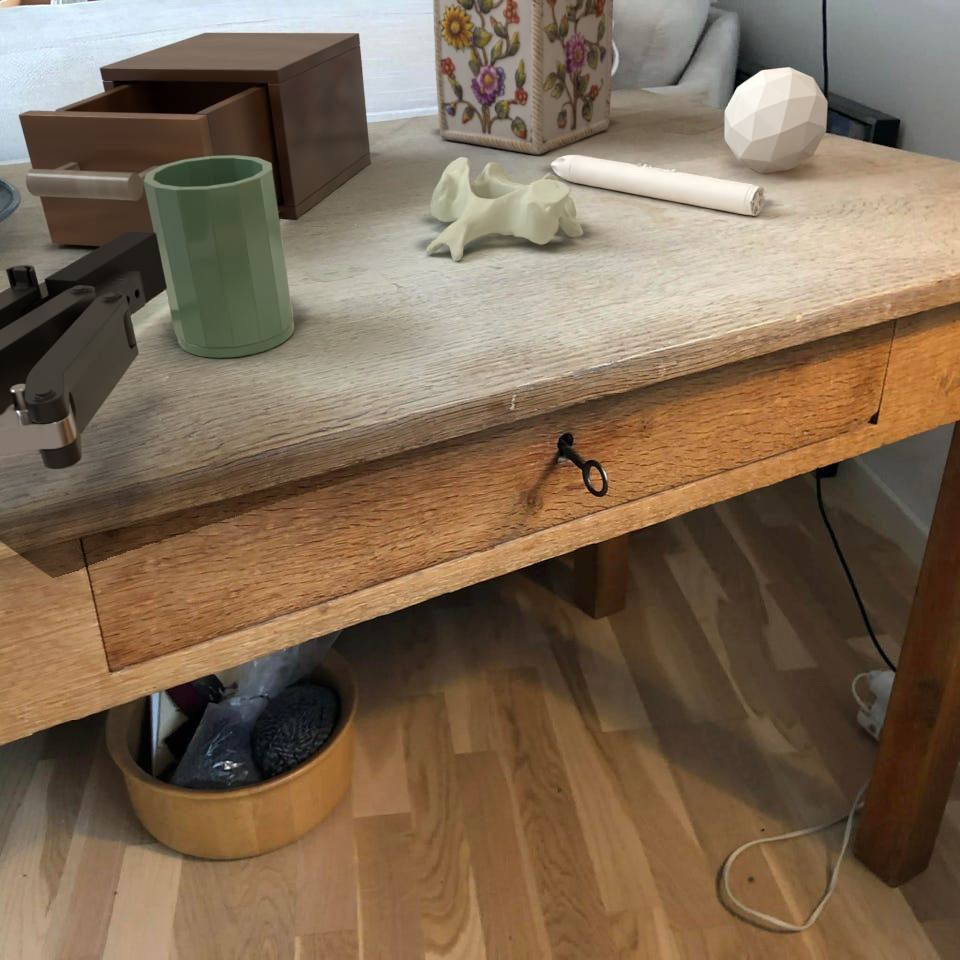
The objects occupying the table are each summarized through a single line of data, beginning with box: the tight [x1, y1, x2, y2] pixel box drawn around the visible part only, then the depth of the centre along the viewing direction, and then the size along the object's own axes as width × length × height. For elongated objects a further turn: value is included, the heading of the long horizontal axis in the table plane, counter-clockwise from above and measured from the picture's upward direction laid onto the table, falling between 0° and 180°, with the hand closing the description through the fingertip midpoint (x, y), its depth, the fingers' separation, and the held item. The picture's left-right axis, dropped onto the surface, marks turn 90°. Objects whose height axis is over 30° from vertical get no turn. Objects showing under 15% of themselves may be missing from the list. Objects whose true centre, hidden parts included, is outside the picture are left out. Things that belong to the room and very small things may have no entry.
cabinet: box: [99, 32, 372, 220], centre depth 80 cm, size 16×14×10 cm
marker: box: [550, 154, 766, 217], centre depth 76 cm, size 18×2×2 cm, turn 50°
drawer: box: [18, 81, 283, 247], centre depth 69 cm, size 19×13×8 cm, turn 165°
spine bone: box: [426, 156, 584, 262], centre depth 68 cm, size 12×10×5 cm
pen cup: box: [143, 155, 295, 359], centre depth 54 cm, size 6×6×9 cm
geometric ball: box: [724, 66, 829, 174], centre depth 79 cm, size 8×8×8 cm
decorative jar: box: [432, 0, 614, 156], centre depth 89 cm, size 12×12×18 cm
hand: (147, 260), depth 48 cm, fingers closed
